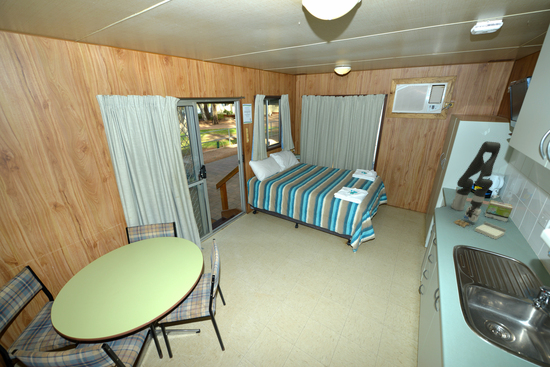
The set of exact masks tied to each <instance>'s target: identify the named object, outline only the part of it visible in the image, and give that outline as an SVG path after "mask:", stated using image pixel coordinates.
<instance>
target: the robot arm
mask: <svg viewBox="0 0 550 367" xmlns="http://www.w3.org/2000/svg"><path fill="white" fill-rule="evenodd" d="M500 150H501V143H499V142H497V141H489V140H488V141H484V142H483V143H482V144H481V146H480V148H479V150H478V152H477V153H476V156H475V157H474V158H473V160H471V162H470V164H469V166H468V167H467V169H466V170H465V171H464V172H463V174H462V175H461V176H460V177H459V178H458V180H457V183H456V184H457V187H458V188H459V189H457V190H456V193H455V196H454V198H453V200H452V202H451V206H450V208H452V209H453V210H456V211H464V209H465V205H466V203H467V199H468V198H469V195H470V193H471V191H472V188H473V187H474V184H475V185H476V187H477V188H476V189H475V191H474V193H473V195H472V198H471V201H470V206H471V208H469V210H468V213H469V215H468V217H470V218H471V217H472V214H473V212H474V211H475V210H474V209H478V208H479V209H481V207H482V206H483V202H484V201H485V197H486V194H487V192H488V191H489V189H491V187H492V186H493V184H494V183H493V180H492V179H487V178H488V177H491V176H492V174H493V169H494V165H495V162H496V160H497V158H498V156H499V153H500ZM486 153H489V154H490V153H491V155H490V157H489V158H488V159H487V160H486V161H485V160H484V155H485V154H486ZM478 173H479V176H478V177H477V178H476V181H475V183H474V180H473V179H472V178H471V177H473V176H475V175H477V174H478ZM485 177H487V178H485ZM478 187H479V188H478ZM473 210H474V211H473Z"/></svg>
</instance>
